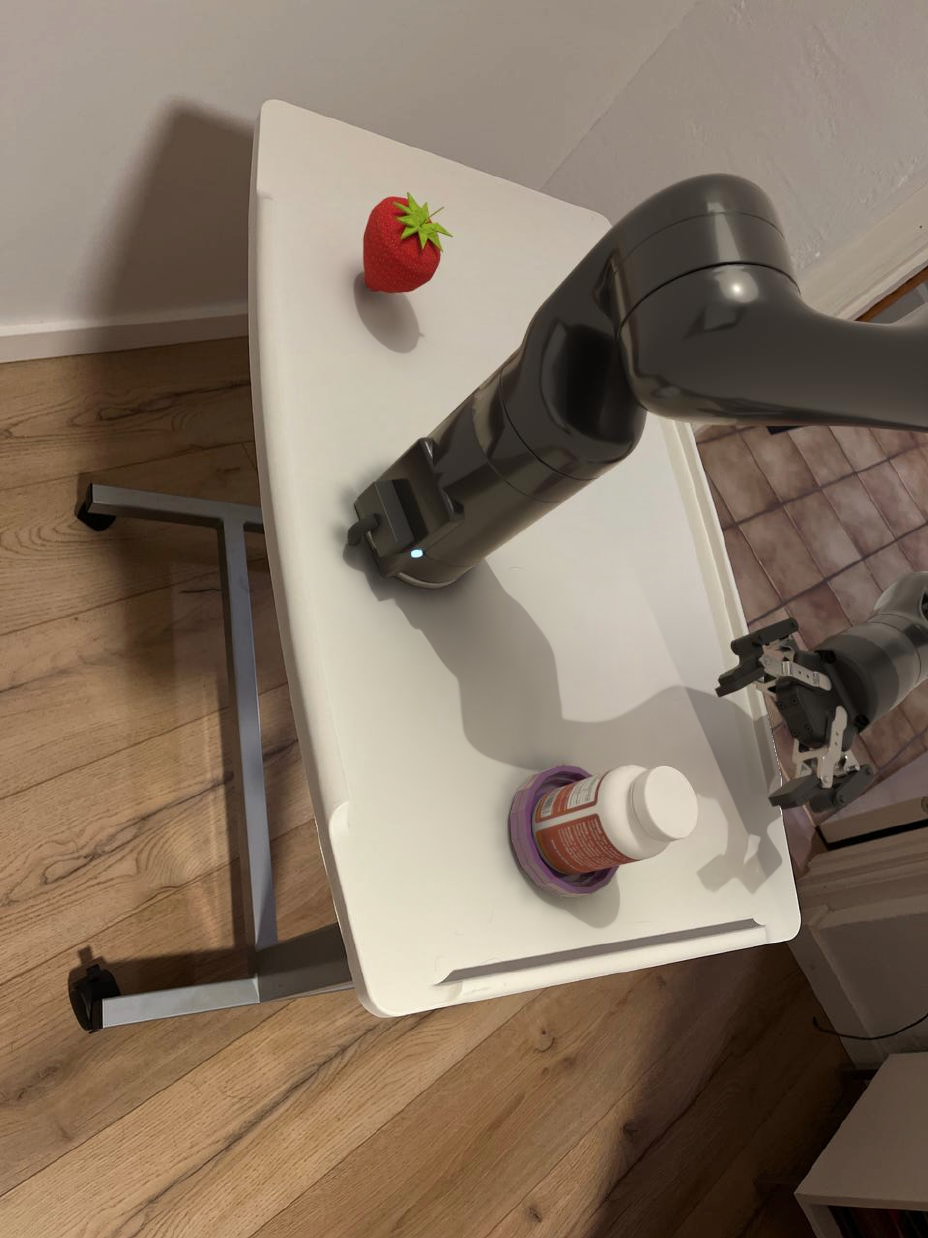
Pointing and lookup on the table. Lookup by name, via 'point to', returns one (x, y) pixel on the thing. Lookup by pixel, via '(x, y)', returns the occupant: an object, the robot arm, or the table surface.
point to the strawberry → (400, 246)
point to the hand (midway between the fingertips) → (752, 745)
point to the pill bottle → (613, 818)
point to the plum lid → (525, 843)
